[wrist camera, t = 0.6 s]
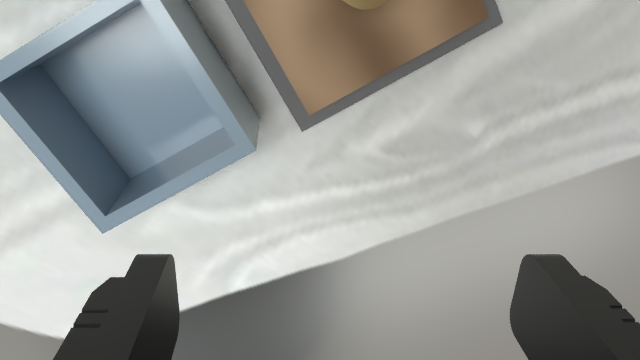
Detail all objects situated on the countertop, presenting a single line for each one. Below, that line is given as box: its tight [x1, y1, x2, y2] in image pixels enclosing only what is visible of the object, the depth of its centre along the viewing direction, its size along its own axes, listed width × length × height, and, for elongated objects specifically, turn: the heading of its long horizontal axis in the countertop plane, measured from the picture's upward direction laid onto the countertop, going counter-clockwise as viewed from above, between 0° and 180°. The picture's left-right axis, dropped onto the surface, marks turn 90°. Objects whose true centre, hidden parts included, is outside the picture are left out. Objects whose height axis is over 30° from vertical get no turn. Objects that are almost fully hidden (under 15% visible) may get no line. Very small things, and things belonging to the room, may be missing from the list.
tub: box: [0, 0, 259, 234], centre depth 28 cm, size 10×10×6 cm
